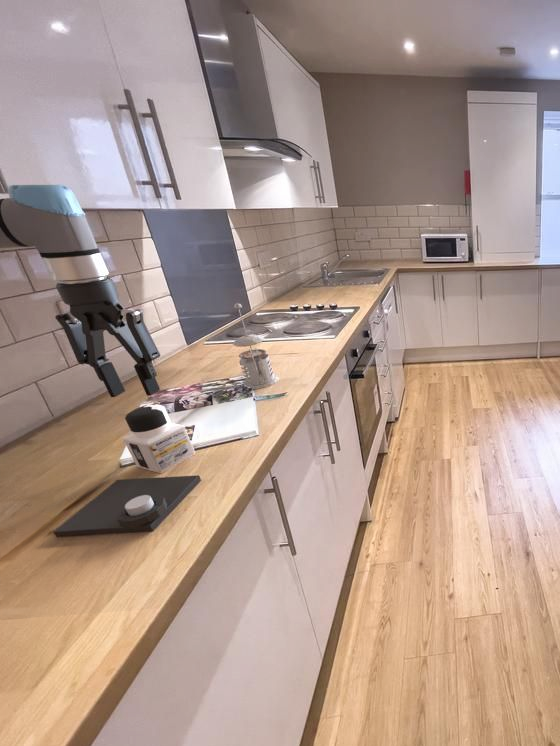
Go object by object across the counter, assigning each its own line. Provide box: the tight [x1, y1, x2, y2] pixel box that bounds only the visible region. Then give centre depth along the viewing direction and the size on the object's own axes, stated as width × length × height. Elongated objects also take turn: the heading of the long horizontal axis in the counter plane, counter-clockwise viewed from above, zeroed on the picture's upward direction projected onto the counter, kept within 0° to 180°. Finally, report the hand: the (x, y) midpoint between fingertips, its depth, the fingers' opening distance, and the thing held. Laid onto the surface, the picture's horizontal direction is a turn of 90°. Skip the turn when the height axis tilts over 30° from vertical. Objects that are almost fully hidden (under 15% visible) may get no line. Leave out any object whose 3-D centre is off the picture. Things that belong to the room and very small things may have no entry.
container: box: [122, 404, 196, 474], centre depth 88 cm, size 8×8×13 cm
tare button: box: [125, 495, 154, 516], centre depth 73 cm, size 4×4×2 cm
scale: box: [52, 474, 202, 538], centre depth 77 cm, size 16×14×3 cm
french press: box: [232, 302, 280, 390], centre depth 122 cm, size 10×12×25 cm
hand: (136, 393), depth 84 cm, fingers open, 6 cm apart
